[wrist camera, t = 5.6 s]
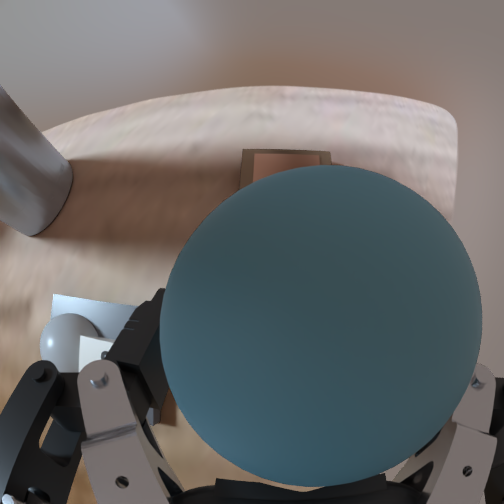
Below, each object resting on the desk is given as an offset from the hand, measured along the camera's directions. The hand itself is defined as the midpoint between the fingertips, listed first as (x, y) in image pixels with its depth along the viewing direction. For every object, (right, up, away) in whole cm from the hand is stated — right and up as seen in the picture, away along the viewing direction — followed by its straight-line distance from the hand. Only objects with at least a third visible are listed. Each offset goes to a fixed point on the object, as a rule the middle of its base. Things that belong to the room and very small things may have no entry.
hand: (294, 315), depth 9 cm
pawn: (0, -3, +6) cm, 7 cm away
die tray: (-12, -6, +9) cm, 17 cm away
